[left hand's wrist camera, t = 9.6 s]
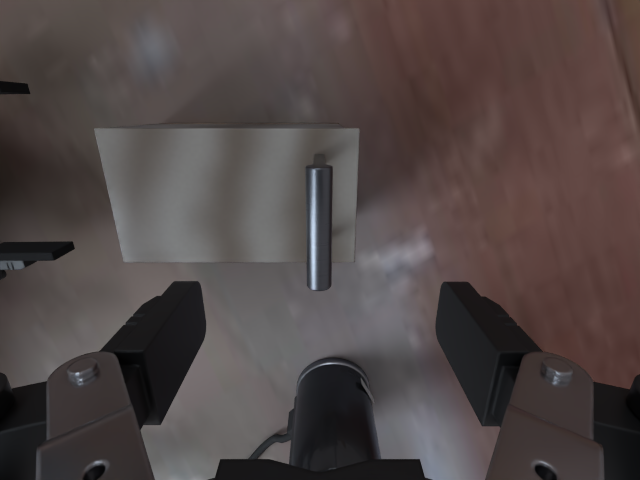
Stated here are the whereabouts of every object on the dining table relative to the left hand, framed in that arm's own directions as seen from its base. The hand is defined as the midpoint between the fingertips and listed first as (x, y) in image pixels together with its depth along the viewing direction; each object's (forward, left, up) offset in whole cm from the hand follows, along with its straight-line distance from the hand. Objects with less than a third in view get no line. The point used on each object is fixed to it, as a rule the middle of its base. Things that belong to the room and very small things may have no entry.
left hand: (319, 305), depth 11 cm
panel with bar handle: (-4, +5, -15) cm, 16 cm away
